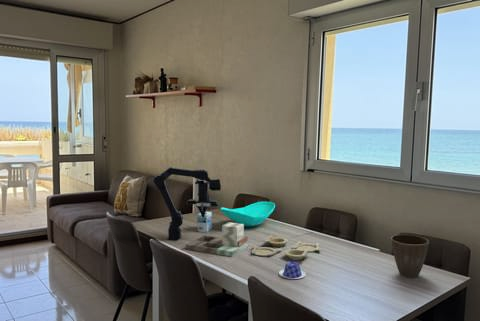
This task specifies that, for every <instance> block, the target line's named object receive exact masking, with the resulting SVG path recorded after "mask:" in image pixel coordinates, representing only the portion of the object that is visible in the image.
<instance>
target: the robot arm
mask: <svg viewBox="0 0 480 321" xmlns="http://www.w3.org/2000/svg"><path fill="white" fill-rule="evenodd" d="M172 175H174V176H182V177H190V178H194V179H195V182H194V184H195V185H197V192H198V193H197V199H194V198H193V199H191V198H190V199H189V200H187V201H186V206H187V207H188V206H190V207H191V206H193V205H196V207H195V208H197V209H198V211H199V213H201V215H202V217H204V216H205V213H206V212H207V211H208V208H210V207H219V206H220V202H221V201H220V200H219V199H213V200H212V199H211V195H210V194H209V190H210V191H212V192H217V191H219V192H220V191H221V189H222V188H221V180H220V179H219V178H216V179H215V178H214V179H211V178H210V177H209V174H208V172H207V171H206V170H205V169H202V168H201V169H185V168H178V167H177V168H176V167H172V166H171V167H168V168H167V169H166V170H165V171H163V172H162V173H160V174H156V175H155V176H154V178H153V183H154V185H155V186H156V188H157V189H158V190H159V191H160V193H161V195H162V198H163V200H164V202H165V204H166V207H167V208H168V211H169V213H170V217H171V221H170V222H169V224H168V229H167V230H168V231H167V232H168V234H167V235H168V236H167V239H166V240H169V241H179V240H180V239H181V238H182V230H181V226H182V225H183V220H184V215H182V213H181V210H179V211H178V210H177V209H176V206H175V204H174V201H173V199H172V197H171V194H170V192H169V191H168V188H167V185H166V184H167V183H166V180H167V179H168V178H169V177H171V176H172Z"/></svg>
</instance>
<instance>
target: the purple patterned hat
mask: <svg viewBox="0 0 480 321" xmlns="http://www.w3.org/2000/svg"><path fill="white" fill-rule="evenodd" d="M278 275H279V276H280V277H282V278H285V279H289V280H295V279H296V280H297V279H303V278H304V277H306V276H307V272H306V271H304V270H302V269H301V266H300V263H299V262H296V261H287V262H286V263H285V266H284V268H283V269H281V270H279V271H278Z"/></svg>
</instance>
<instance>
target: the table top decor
mask: <svg viewBox="0 0 480 321" xmlns="http://www.w3.org/2000/svg"><path fill="white" fill-rule="evenodd" d="M275 207H276V204H275V202H272V201H258V202H255V203H251V204H249V205H246V206H244V207H238V208H227V207H220V210H221V213H223V215H225V216H226V217H227V218H228V219H230V220H232V221H234V223H239V224H244V227H247V228H248V227H254V226H258V225H260V224H262V223H263V222H264V221H266V220H267V219H268V217H270V215H271V214H272V213H273V211H274V210H275Z"/></svg>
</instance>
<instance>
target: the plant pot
mask: <svg viewBox="0 0 480 321" xmlns="http://www.w3.org/2000/svg"><path fill="white" fill-rule="evenodd" d="M390 240H391V247H392V248H391V249H392V253H393V257H394V260H395V264H396V268H397V270H398V273H399V275H400V276H401V277H403V278H405V279H407V278H408V279H417V278H418V277H419V276H420V273H421V272H422V269H423V266H424V264H425V261H426V258H427V254H428V248H429V244H430V242H429V241H430V240H429V239H427V238H425V237H422V236H418V235H413V234H412V235H411V234H394V235H393V236H391V238H390Z"/></svg>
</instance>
